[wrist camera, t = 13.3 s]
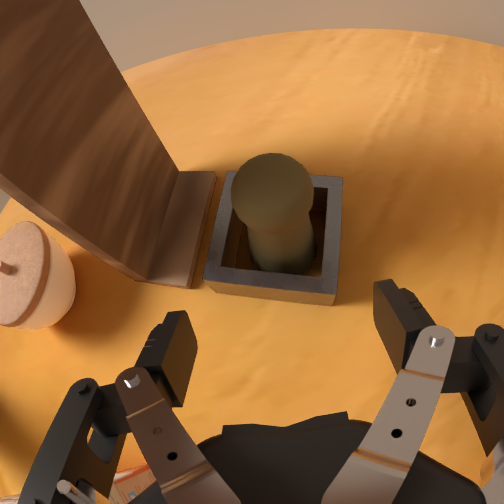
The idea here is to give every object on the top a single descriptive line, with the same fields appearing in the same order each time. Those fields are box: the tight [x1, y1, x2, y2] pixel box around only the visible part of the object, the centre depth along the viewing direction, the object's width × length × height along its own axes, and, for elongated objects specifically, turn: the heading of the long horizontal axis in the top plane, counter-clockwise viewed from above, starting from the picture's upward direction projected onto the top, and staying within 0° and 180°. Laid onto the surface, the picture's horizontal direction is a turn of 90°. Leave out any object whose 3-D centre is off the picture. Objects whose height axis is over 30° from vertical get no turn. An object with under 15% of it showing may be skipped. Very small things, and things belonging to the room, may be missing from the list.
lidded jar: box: [0, 221, 76, 330], centre depth 26 cm, size 11×11×9 cm
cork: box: [231, 153, 317, 275], centre depth 23 cm, size 6×6×11 cm
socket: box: [202, 171, 343, 306], centre depth 26 cm, size 10×10×4 cm
